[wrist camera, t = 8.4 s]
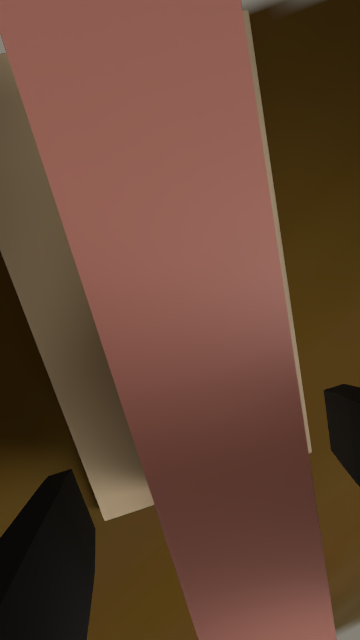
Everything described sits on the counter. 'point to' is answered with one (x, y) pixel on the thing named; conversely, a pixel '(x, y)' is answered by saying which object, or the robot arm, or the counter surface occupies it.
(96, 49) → the pink rectangular block
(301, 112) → the counter surface
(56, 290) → the tan flat rectangular panel
